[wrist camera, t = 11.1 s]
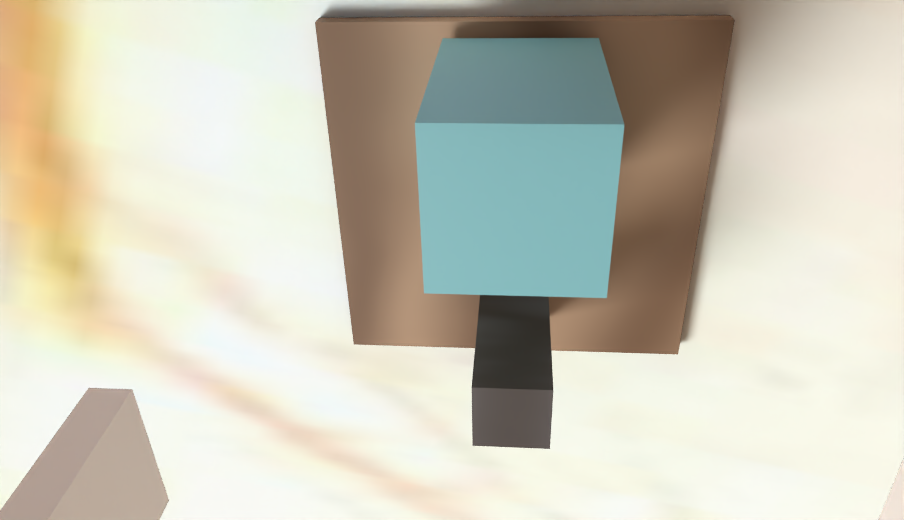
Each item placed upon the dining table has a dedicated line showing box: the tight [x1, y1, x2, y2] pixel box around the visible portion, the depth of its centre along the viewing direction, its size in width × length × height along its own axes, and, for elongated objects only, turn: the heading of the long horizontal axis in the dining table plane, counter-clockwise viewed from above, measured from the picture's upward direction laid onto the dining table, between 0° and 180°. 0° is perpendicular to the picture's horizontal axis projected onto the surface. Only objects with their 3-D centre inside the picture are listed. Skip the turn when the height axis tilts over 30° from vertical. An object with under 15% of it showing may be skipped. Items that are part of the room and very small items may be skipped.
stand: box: [315, 15, 734, 449], centre depth 26 cm, size 14×14×8 cm
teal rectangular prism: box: [415, 38, 624, 298], centre depth 23 cm, size 5×5×8 cm
